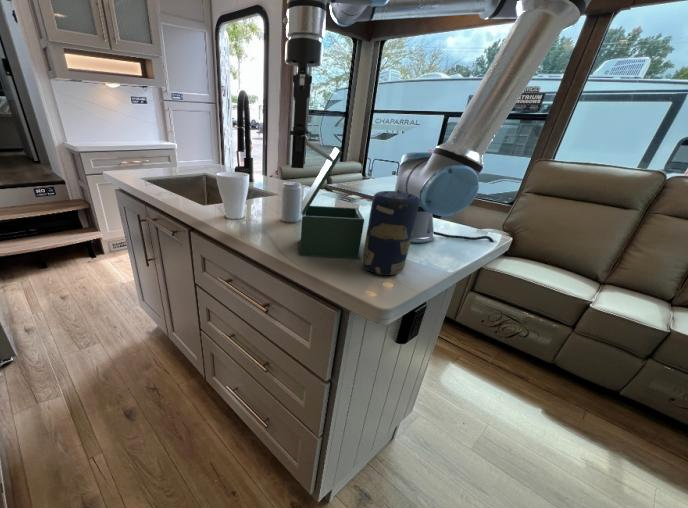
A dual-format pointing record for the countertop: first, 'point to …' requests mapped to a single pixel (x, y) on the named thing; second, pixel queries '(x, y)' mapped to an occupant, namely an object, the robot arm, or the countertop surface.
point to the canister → (389, 231)
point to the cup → (233, 192)
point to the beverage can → (291, 202)
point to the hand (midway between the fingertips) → (297, 165)
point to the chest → (331, 232)
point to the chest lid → (322, 175)
